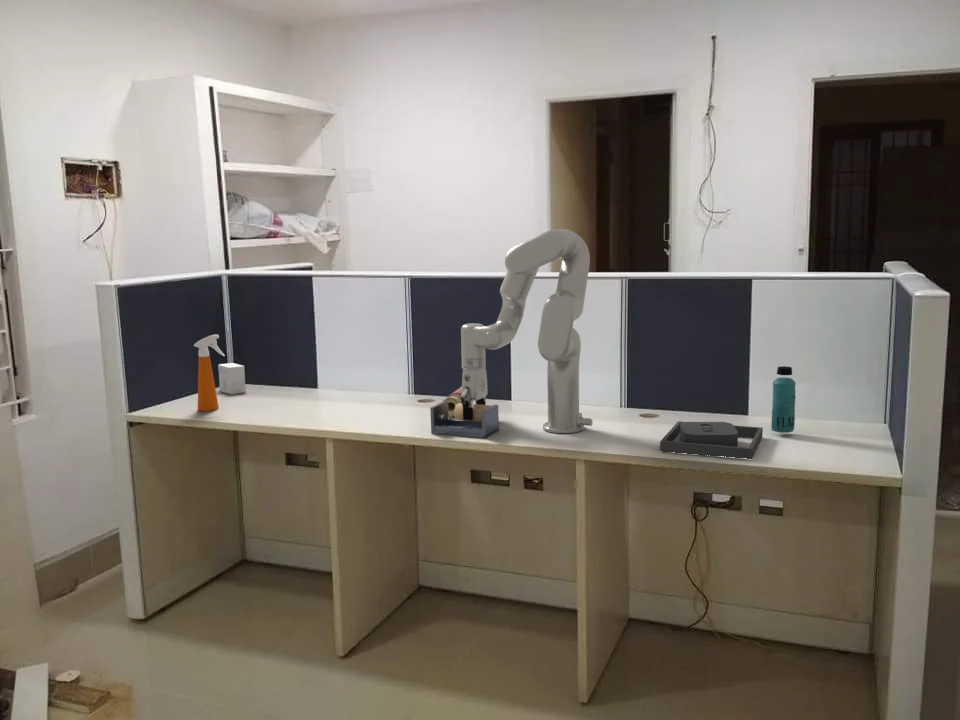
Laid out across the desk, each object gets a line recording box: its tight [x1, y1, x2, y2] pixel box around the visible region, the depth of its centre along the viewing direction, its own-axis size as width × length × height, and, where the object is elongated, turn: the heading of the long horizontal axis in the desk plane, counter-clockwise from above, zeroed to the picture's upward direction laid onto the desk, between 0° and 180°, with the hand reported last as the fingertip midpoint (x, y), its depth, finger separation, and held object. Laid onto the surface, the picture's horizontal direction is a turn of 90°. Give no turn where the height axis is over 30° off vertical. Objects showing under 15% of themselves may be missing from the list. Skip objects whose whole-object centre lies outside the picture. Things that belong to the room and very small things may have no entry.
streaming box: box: [679, 421, 739, 447], centre depth 240 cm, size 14×14×5 cm
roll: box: [453, 403, 493, 422], centre depth 273 cm, size 12×6×6 cm, turn 66°
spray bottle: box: [193, 334, 226, 412], centre depth 301 cm, size 7×11×26 cm, turn 90°
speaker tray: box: [659, 421, 764, 460], centre depth 241 cm, size 24×24×3 cm
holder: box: [429, 401, 500, 439], centre depth 261 cm, size 18×10×8 cm, turn 66°
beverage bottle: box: [770, 365, 797, 434], centre depth 248 cm, size 6×7×20 cm
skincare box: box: [217, 362, 247, 395], centre depth 332 cm, size 10×6×10 cm, turn 40°
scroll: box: [442, 386, 470, 417], centre depth 290 cm, size 8×8×20 cm
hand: (474, 416), depth 273 cm, fingers open, 9 cm apart
